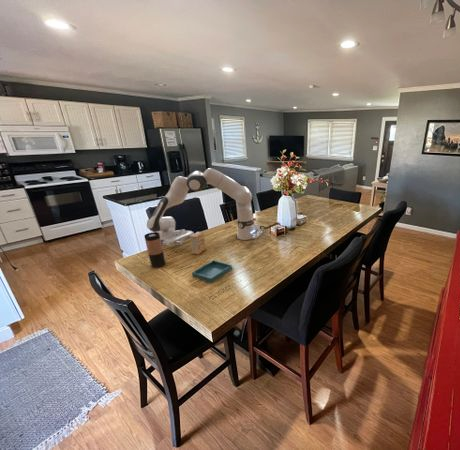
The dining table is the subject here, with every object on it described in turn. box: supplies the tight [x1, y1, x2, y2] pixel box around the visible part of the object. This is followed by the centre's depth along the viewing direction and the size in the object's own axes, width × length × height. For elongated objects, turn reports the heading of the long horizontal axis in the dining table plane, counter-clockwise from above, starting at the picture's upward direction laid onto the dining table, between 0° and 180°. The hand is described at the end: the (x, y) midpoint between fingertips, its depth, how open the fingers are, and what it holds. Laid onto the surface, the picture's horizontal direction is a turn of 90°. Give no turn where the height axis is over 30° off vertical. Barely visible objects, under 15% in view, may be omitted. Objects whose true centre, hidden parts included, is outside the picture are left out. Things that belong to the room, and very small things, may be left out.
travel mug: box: [144, 231, 166, 269], centre depth 142 cm, size 8×8×20 cm
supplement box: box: [189, 231, 206, 256], centre depth 160 cm, size 8×5×13 cm, turn 168°
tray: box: [191, 259, 233, 283], centre depth 137 cm, size 16×14×2 cm
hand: (187, 240), depth 164 cm, fingers open, 8 cm apart
